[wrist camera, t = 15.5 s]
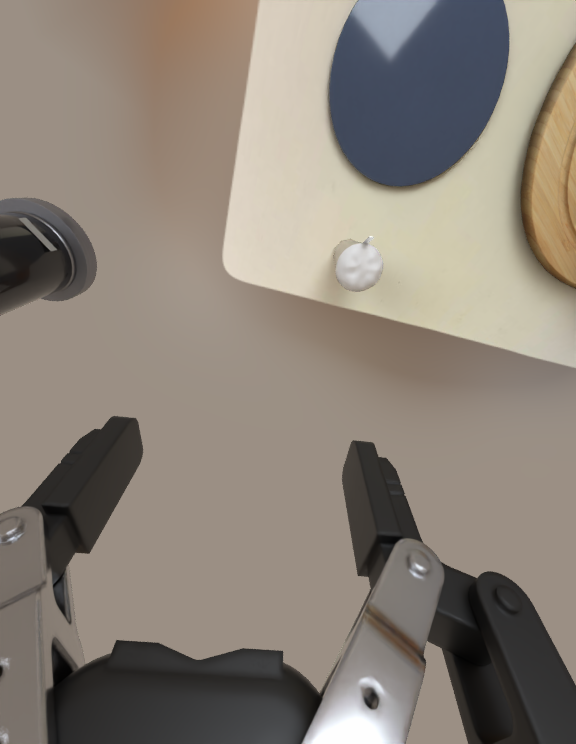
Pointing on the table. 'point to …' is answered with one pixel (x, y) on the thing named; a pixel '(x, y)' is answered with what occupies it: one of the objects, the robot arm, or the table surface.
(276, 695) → the robot arm
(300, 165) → the table surface
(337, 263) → the milkshake
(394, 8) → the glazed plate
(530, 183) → the wooden plate
